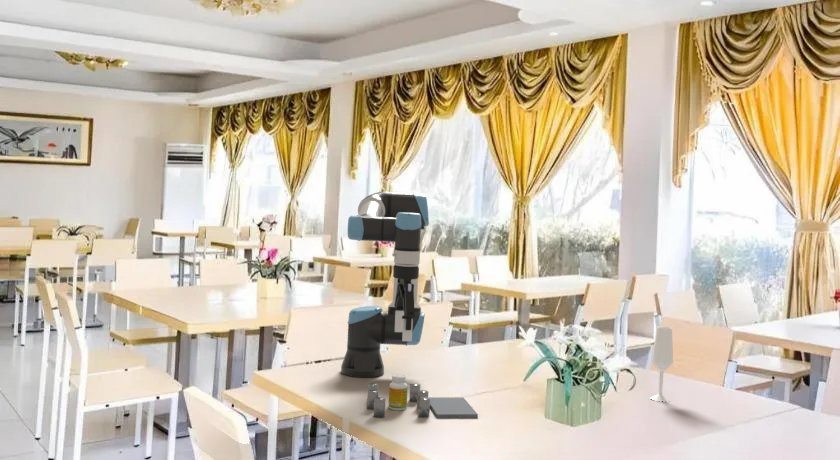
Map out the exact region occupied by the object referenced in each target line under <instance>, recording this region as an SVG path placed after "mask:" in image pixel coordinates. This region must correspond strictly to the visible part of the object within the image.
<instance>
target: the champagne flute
mask: <svg viewBox="0 0 840 460" xmlns="http://www.w3.org/2000/svg"><path fill="white" fill-rule="evenodd" d="M652 349H653V350H652V356H651V362H652V364H653V365H654V366H655V368H656V369H657V370H658V371H659V376H658V377H659V378H658V379H659V380H658V393H657V394H655V395H653V396H651V397H649V398H650V399H652V400H655V401H654V402H656V401H669V400H670V399H669V398H668V397H666V396H665V395H664V394H663V385H664V371H666V370H668V369H669V368H670V367H671V366H672V365H673V363H674V351H673V350H674V349H673V328H672V327H670V326H661V325H660V326H656V331H655V336H654V343H653V348H652ZM650 399H649V400H650ZM652 400H651V401H652Z"/></svg>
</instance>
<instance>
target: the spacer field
mask: <svg viewBox="0 0 840 460" xmlns="http://www.w3.org/2000/svg"><path fill="white" fill-rule="evenodd" d="M379 391H380V390H379V384H378V383H376V382H375V383H374V382H370V383H368V385H367V399H366V409H367V410H371V411H372V410H373V418H377V419H382V418H383V419H384V417H385V416H386V398H385V397H382V396H381V397H380V396H379V393H380V392H379ZM428 397H429V391H428V390H425V389H421V384H420V383H418V382H417V383H416V382H415V383H413V382H412V383H410V384H409V399H408V400H409V402H412V403H416V409H418V414H417V416H418V417H419V418H429V417H430V413H431V412H430V410H431V408H430V398H428Z"/></svg>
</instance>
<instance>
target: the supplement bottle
mask: <svg viewBox="0 0 840 460" xmlns="http://www.w3.org/2000/svg"><path fill="white" fill-rule="evenodd" d="M406 380H407V379H406V375H404V374H399V373H398V374H395V373H394V374H392V376H391V381H392V382H390V383H389V387H388V388H389V390H388V391H389V392H388V409H390V410H393V411H404V410H406V409H407V407H408V403H407V402H408V383H407V382H406Z"/></svg>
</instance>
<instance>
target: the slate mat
mask: <svg viewBox="0 0 840 460" xmlns="http://www.w3.org/2000/svg"><path fill="white" fill-rule="evenodd" d="M428 398H430V410H431V411H432V412H433V414H434V415H436V416H435V417H436V418H437V419H454V418H455V419H457V418H459V419H467V418H471V419H476V418H477V419H478V417H479V415H478V413H477V412H476V410H475V409H474V408H473V406H471V405H470V403H469V402H468V401H467V400H466V398H464V396H463V397H460V396H459V397H458V396H457V397H454V396H453V397H450V396H449V397H448V396H446V397H434V396H433V397H429V396H428Z"/></svg>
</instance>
